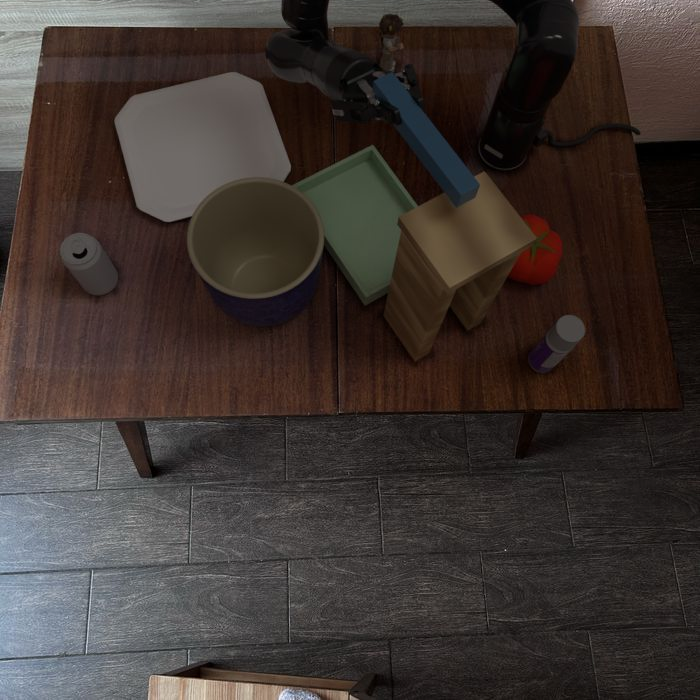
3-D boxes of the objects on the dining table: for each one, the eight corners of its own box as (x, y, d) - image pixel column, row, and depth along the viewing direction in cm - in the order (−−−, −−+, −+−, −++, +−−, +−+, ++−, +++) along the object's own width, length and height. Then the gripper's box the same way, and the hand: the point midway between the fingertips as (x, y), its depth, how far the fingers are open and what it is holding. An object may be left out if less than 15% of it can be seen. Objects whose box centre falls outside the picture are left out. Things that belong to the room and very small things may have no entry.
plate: (256, 73, 138) (255, 65, 136) (299, 193, 129) (298, 186, 127) (111, 107, 134) (108, 100, 132) (145, 234, 125) (142, 228, 123)
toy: (399, 81, 138) (407, 23, 124) (372, 76, 138) (377, 17, 124) (404, 57, 140) (413, -3, 126) (377, 52, 141) (383, -9, 126)
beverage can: (90, 303, 120) (65, 272, 109) (77, 273, 122) (51, 240, 111) (125, 288, 121) (104, 256, 110) (111, 258, 123) (90, 224, 112)
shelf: (445, 273, 124) (484, 170, 94) (484, 327, 121) (537, 238, 91) (380, 310, 121) (398, 216, 91) (417, 366, 118) (449, 288, 88)
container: (525, 348, 120) (552, 315, 106) (552, 346, 120) (582, 313, 106) (530, 374, 118) (558, 343, 104) (557, 372, 119) (588, 341, 105)
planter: (191, 257, 124) (168, 200, 106) (300, 221, 127) (296, 159, 109) (228, 360, 117) (211, 317, 100) (341, 319, 121) (344, 271, 103)
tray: (371, 156, 132) (373, 144, 129) (447, 259, 125) (450, 250, 122) (291, 196, 129) (290, 185, 125) (364, 305, 122) (365, 297, 118)
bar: (390, 87, 94) (392, 71, 91) (475, 197, 89) (480, 184, 86) (371, 96, 93) (373, 80, 90) (456, 208, 88) (460, 195, 85)
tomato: (474, 243, 127) (485, 219, 119) (535, 222, 128) (549, 197, 120) (504, 303, 123) (517, 282, 115) (566, 281, 125) (583, 259, 117)
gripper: (297, 72, 97) (357, 107, 85) (381, 32, 100) (451, 61, 88) (312, 121, 102) (370, 161, 90) (391, 82, 105) (458, 115, 93)
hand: (410, 111), depth 89 cm, fingers closed on bar, 3 cm apart
